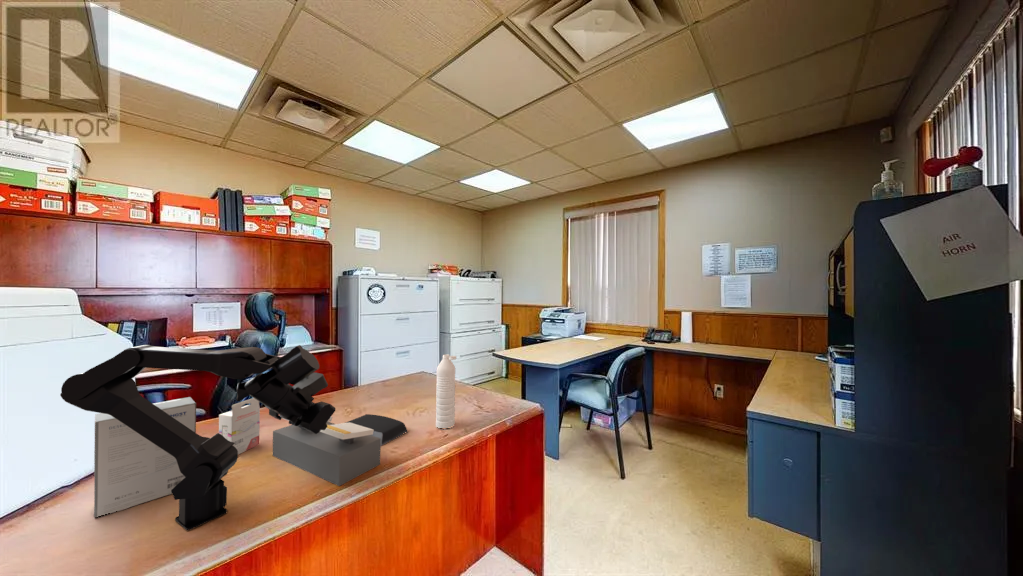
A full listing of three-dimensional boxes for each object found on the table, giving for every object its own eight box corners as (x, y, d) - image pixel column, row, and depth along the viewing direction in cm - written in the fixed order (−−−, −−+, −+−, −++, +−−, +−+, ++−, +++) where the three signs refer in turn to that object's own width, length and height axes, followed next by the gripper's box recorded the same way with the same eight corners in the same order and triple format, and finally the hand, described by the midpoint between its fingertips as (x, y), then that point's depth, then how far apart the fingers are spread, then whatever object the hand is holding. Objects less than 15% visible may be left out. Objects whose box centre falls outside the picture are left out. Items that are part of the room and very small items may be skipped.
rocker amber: (342, 439, 83) (344, 433, 84) (318, 431, 88) (319, 425, 88) (372, 434, 91) (373, 428, 91) (348, 426, 96) (349, 421, 96)
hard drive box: (190, 475, 85) (192, 396, 86) (196, 487, 81) (198, 402, 81) (92, 505, 73) (95, 412, 74) (92, 520, 69) (94, 421, 69)
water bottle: (432, 425, 119) (433, 354, 119) (448, 421, 123) (449, 352, 124) (445, 433, 112) (446, 358, 113) (461, 428, 117) (462, 355, 117)
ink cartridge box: (246, 443, 104) (247, 394, 104) (259, 444, 103) (261, 395, 103) (217, 456, 95) (218, 403, 96) (231, 458, 94) (232, 405, 95)
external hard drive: (378, 448, 102) (379, 435, 102) (335, 436, 110) (335, 423, 110) (409, 432, 114) (409, 420, 114) (368, 422, 122) (368, 411, 122)
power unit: (339, 486, 81) (339, 448, 82) (272, 455, 96) (273, 423, 96) (380, 464, 92) (380, 430, 92) (314, 439, 106) (315, 411, 107)
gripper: (327, 369, 75) (370, 405, 84) (283, 359, 85) (326, 393, 94) (289, 415, 68) (339, 449, 78) (245, 400, 78) (295, 431, 87)
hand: (325, 427), depth 84 cm, fingers closed
